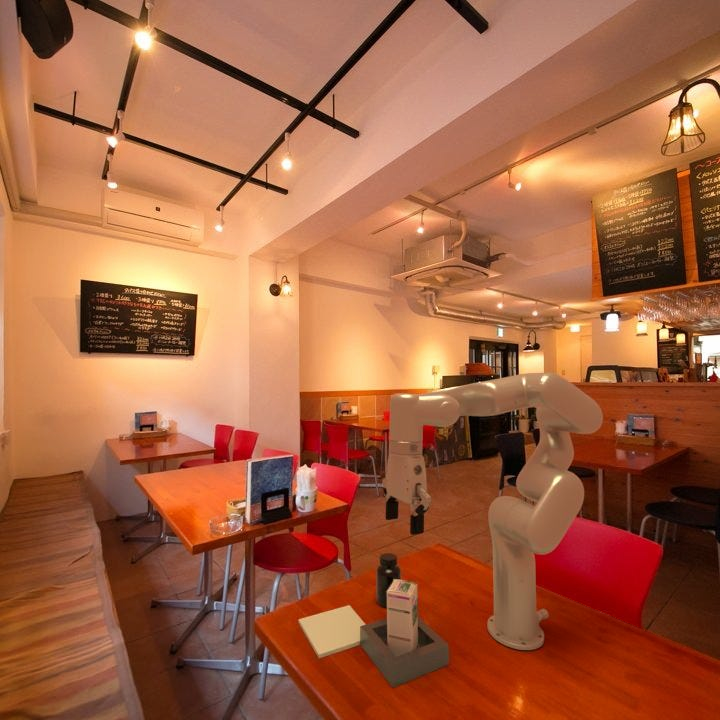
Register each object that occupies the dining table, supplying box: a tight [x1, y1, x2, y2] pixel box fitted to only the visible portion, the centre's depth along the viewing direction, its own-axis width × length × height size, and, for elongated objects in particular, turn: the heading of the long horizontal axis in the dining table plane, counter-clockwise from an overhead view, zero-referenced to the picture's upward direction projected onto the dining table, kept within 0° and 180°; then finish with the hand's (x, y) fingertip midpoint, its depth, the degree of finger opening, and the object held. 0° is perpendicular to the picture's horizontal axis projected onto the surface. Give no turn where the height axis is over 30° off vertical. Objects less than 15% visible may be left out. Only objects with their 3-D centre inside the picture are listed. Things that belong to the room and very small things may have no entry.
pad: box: [298, 604, 367, 659], centre depth 92 cm, size 14×14×1 cm
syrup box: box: [386, 579, 420, 656], centre depth 85 cm, size 6×6×14 cm
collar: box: [359, 616, 450, 688], centre depth 85 cm, size 14×14×4 cm
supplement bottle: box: [375, 552, 402, 609], centre depth 105 cm, size 7×7×12 cm
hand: (403, 526), depth 86 cm, fingers open, 9 cm apart
